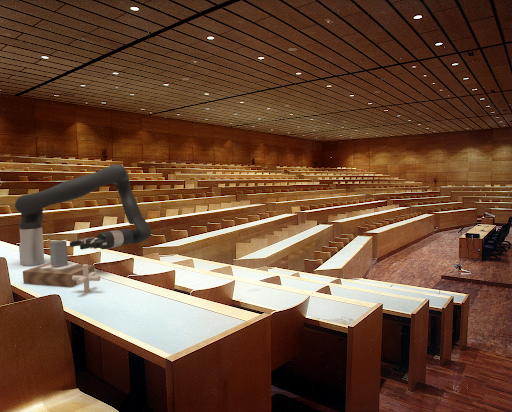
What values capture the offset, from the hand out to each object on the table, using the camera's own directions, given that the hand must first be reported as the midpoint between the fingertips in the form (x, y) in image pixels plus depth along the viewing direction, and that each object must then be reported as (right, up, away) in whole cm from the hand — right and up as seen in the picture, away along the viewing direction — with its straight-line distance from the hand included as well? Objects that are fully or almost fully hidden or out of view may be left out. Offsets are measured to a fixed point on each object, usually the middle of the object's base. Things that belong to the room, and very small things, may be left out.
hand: (75, 245), depth 157 cm
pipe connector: (+13, -15, -18) cm, 27 cm away
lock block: (-4, -8, -5) cm, 10 cm away
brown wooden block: (-4, -14, -4) cm, 15 cm away
